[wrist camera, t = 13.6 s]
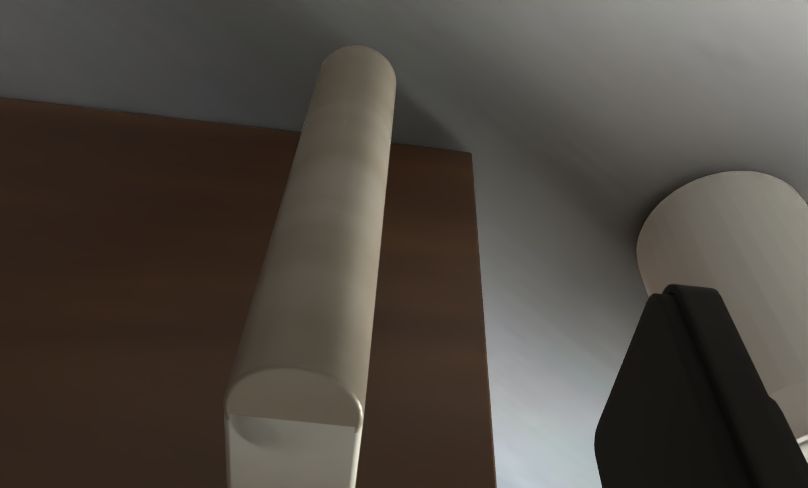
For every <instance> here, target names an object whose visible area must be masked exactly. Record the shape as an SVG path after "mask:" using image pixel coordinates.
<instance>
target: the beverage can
mask: <svg viewBox="0 0 808 488" xmlns="http://www.w3.org/2000/svg"><path fill="white" fill-rule="evenodd" d="M636 254H637V262H638V267H639V271H640V274H641V277H642V280H643V282H644V285H645V288H646V291H647V294H648V297H650V296H651V295H652V294H654V293H659V294H662V292H663V290H664V289H665V288H666V287H667V286H668V285H669V284H679V285H689V286H698V287H708V288H714V289H716V290H717V291H718V292H719V294H720V295H721V297H722V299H723V301H724V303H725V305H726V307H727V309H728V312H729V314H730V316H731V318H732V320H733V322H734V324H735V326H736V328H737V330H738V332H739V335H740V337H741V339H742V341H743V343H744V345H745V347H746V349H747V351H748V353H749V355H750V358H751V360H752V362H753V364H754V366H755V368H756V370H757V372H758V374H759V376H760V378H761V380H762V383H763V385H764V387H765V389H766V391H767V393H768V395H769V397H771V398H772V399H774V400H775V401H776V403H777V404H778V406H779V407H780V409H781V410H782V412H783V414H784V416H785V418H786V420H787V422H788V424H789V426H790V428H791V430H792V432H793V434H794V436H795V438H796V440H797V443H798V445H799V447H800V449H801V451H802V453H803V455H804V457H805V459H806V461H807V463H808V205H807V204H806V202H805V201H804V200H803V198H802V197H801V196H800V194H799V193H798V192H797V191H796V190H795V189H794V188H792V187H791V186H790V185H789V184H787V183H786V182H784V181H782V180H780V179H778V178H776V177H774V176H771V175H768V174H764V173H760V172H754V171H728V172H721V173H716V174H712V175H708V176H705V177H702V178H699V179H697V180H694V181H692V182H690V183H688V184H686V185H684V186H682V187H681V188H679V189H677V190H676V191H674V192H673V193H671V194H670V195H669V196H667V197H666V198H665V199H664V200H663V201H662V202H660V203H659V205H658V206H657V207H656V208H655V209H654V210H653V211H652V212H651V214H650V215H649V217H648V218H647V220H646V221H645V223H644V225H643V227H642V229H641V232H640V234H639V237H638V242H637V248H636Z"/></svg>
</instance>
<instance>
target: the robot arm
mask: <svg viewBox="0 0 808 488" xmlns="http://www.w3.org/2000/svg"><path fill="white" fill-rule="evenodd" d="M594 447H595V456H596V461H597V465H598V470H599V475H600V479H601V484H602V488H808V463H807V461H806V459H805V457H804V455H803V453H802V451H801V449H800V447H799V445H798V443H797V440H796V438H795V436H794V434H793V432H792V430H791V428H790V426H789V424H788V422H787V420H786V418H785V416H784V414H783V412H782V410H781V409H780V407H779V406H778V404H777V403H776V401H775V400H774V399H772V398H771V397H769V395H768V393H767V391H766V389H765V387H764V385H763V383H762V380H761V378H760V376H759V374H758V372H757V370H756V368H755V366H754V364H753V362H752V360H751V358H750V355H749V353H748V351H747V349H746V347H745V345H744V343H743V341H742V339H741V337H740V335H739V332H738V330H737V328H736V326H735V324H734V322H733V320H732V318H731V316H730V314H729V312H728V309H727V307H726V305H725V303H724V301H723V299H722V297H721V295H720V294H719V292H718V291H717V290H716V289H714V288H708V287H698V286H689V285H679V284H669V285H668V286H667V287H666V288H665V289H664V290H663V292H662V294H659V293H654V294H652V295H651V296H650V297H649V299H648V301H647V303H646V305H645V308H644V310H643V313H642V315H641V318H640V320H639V323H638V325H637V328H636V330H635V333H634V335H633V338H632V340H631V343H630V345H629V348H628V350H627V353H626V355H625V358H624V360H623V363H622V365H621V368H620V370H619V373H618V375H617V378H616V380H615V383H614V385H613V388H612V390H611V393H610V395H609V398H608V400H607V403H606V405H605V408H604V410H603V413H602V415H601V418H600V420H599V423H598V425H597V428H596V432H595V442H594Z"/></svg>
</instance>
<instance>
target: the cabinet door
mask: <svg viewBox="0 0 808 488" xmlns="http://www.w3.org/2000/svg"><path fill="white" fill-rule="evenodd" d="M395 93H396V77H395V73H394V70H393V68H392V66H391V64H390V63H389V61H388V60H387V59H386V58H385V57H384V56H383V55H382V54H380V53H379V52H377V51H376V50H374V49H371V48H368V47H365V46H358V45H353V46H346V47H343V48H340V49H338V50H336V51H334V52H333V53H331V54H330V55H329V56H328V57H327V58H326V60H325V61H324V63H323V64H322V66H321V69H320V72H319V75H318V79H317V82H316V86H315V89H314V92H313V96H312V99H311V102H310V106H309V109H308V113H307V116H306V119H305V123H304V126H303V130H302V133H297V132H288V131H279V130H271V129H262V128H254V127H245V126H237V125H228V124H219V123H211V122H202V121H194V120H185V119H177V118H168V117H160V116H151V115H142V114H134V113H125V112H117V111H108V110H100V109H91V108H83V107H74V106H65V105H57V104H48V103H40V102H31V101H23V100H14V99H6V98H0V488H497V484H496V471H495V458H494V444H493V431H492V418H491V404H490V391H489V378H488V364H487V351H486V338H485V324H484V311H483V298H482V284H481V271H480V258H479V244H478V231H477V218H476V204H475V191H474V177H473V164H472V154H471V153H468V152H459V151H451V150H442V149H433V148H425V147H416V146H408V145H399V144H391V134H392V124H393V113H394V103H395Z"/></svg>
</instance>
